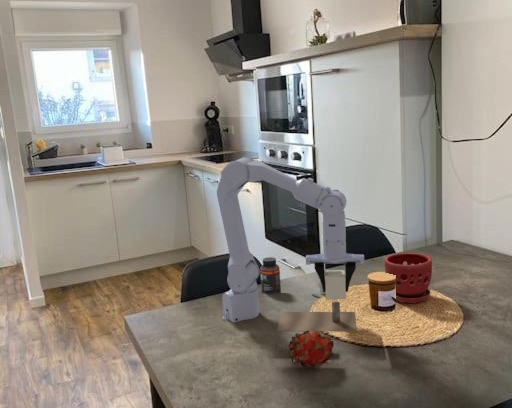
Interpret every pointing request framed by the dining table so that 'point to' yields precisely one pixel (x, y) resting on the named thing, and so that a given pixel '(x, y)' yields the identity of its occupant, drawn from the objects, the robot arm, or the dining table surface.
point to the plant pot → (410, 276)
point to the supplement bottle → (270, 276)
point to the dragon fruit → (310, 348)
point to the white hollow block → (335, 284)
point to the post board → (318, 320)
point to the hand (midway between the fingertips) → (335, 290)
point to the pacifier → (320, 290)
